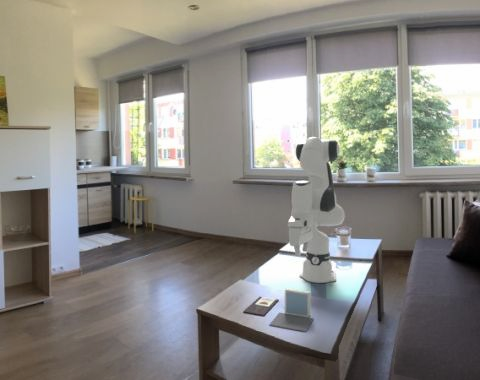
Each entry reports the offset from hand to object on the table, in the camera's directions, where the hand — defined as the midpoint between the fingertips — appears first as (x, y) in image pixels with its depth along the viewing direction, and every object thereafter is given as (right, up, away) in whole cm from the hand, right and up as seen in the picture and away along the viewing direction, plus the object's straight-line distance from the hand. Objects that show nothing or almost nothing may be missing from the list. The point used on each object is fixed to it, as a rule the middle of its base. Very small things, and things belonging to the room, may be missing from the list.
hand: (301, 253), depth 157 cm
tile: (-2, -24, -4) cm, 24 cm away
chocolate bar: (-16, -24, +5) cm, 29 cm away
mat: (-5, -25, -11) cm, 27 cm away
